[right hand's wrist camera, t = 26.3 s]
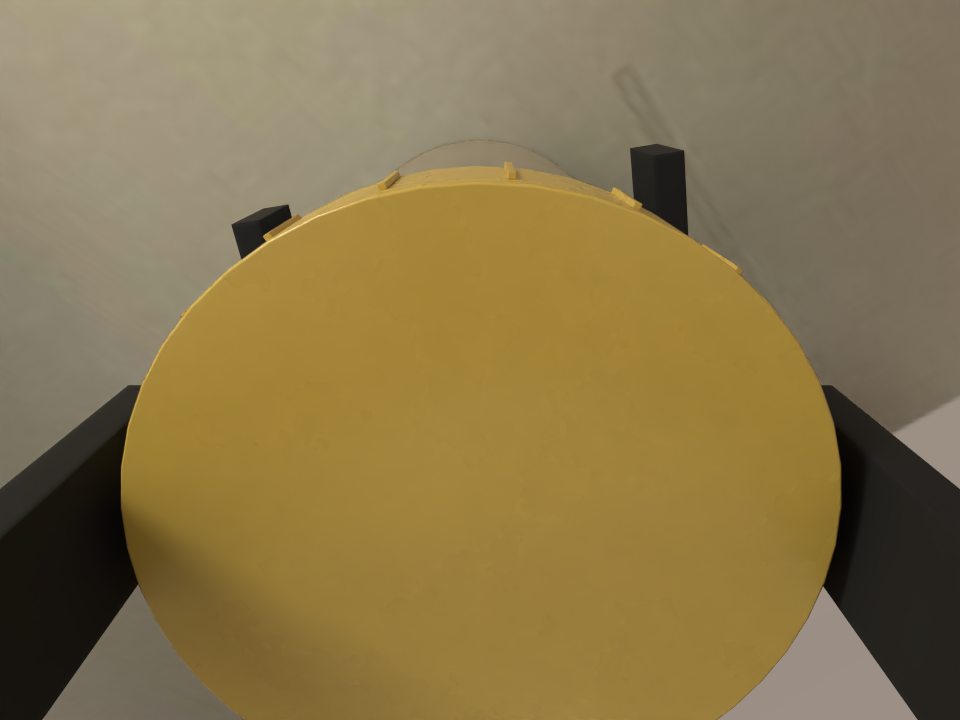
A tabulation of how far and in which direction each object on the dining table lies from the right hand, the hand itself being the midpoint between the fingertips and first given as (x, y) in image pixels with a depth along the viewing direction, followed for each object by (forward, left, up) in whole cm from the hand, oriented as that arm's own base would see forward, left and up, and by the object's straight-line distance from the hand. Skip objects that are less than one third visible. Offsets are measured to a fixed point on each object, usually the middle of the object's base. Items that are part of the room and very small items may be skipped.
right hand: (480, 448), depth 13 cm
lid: (0, 0, +3) cm, 3 cm away
